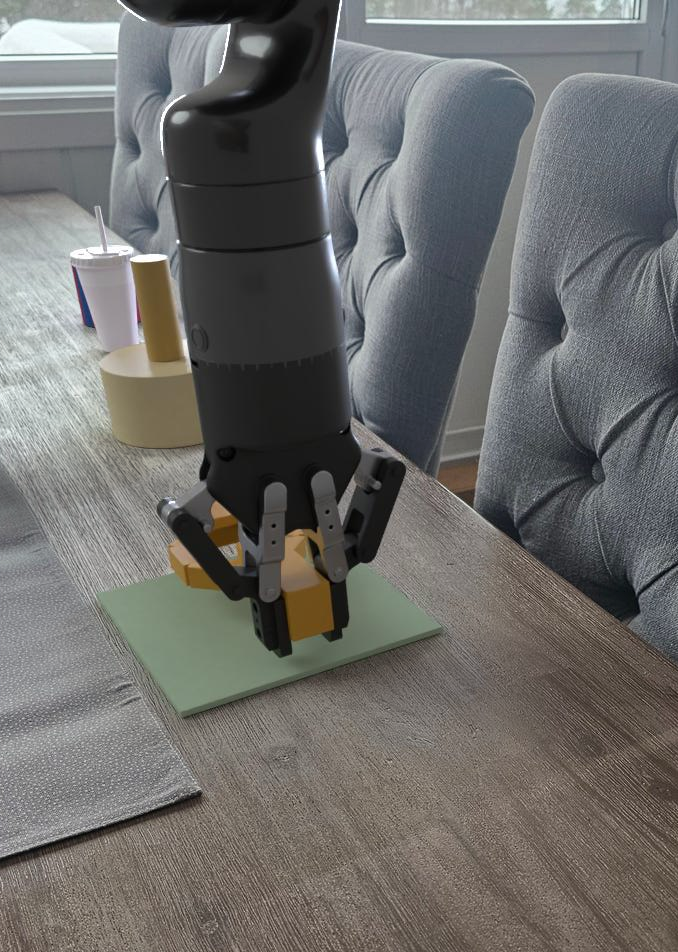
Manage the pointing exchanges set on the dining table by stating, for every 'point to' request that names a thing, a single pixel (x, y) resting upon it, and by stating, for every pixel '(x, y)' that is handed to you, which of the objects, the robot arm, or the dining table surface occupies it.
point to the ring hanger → (298, 577)
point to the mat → (248, 637)
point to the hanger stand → (153, 369)
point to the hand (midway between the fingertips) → (304, 641)
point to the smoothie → (109, 290)
